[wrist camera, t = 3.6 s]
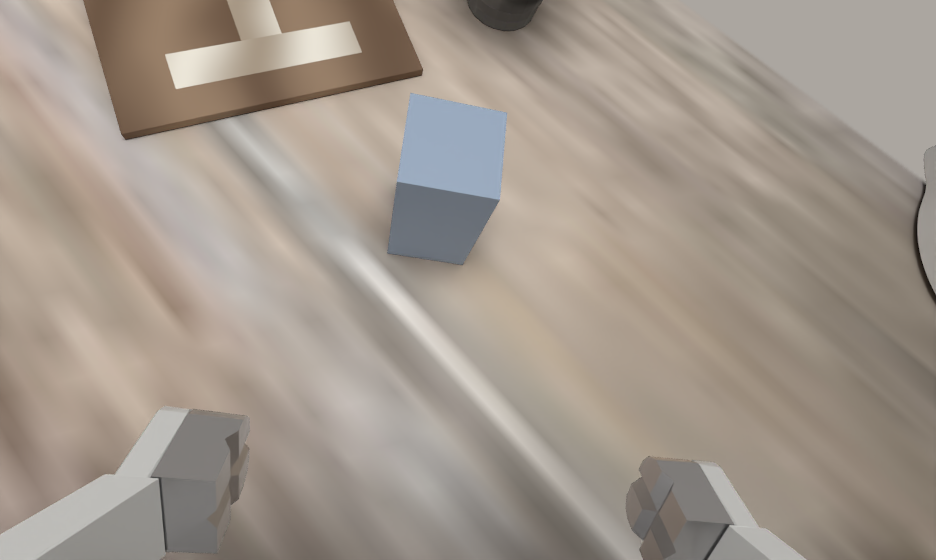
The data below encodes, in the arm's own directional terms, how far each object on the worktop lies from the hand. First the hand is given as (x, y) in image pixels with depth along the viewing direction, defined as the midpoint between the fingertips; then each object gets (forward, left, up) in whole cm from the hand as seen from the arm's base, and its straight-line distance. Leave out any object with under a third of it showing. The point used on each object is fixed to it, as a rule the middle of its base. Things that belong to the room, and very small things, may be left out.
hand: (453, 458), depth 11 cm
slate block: (-5, -10, -15) cm, 19 cm away
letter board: (0, -26, -15) cm, 30 cm away
